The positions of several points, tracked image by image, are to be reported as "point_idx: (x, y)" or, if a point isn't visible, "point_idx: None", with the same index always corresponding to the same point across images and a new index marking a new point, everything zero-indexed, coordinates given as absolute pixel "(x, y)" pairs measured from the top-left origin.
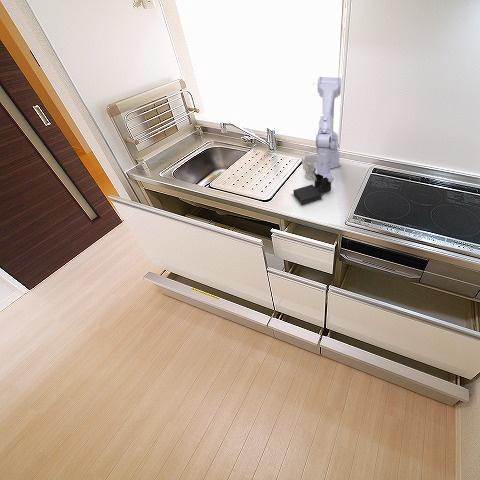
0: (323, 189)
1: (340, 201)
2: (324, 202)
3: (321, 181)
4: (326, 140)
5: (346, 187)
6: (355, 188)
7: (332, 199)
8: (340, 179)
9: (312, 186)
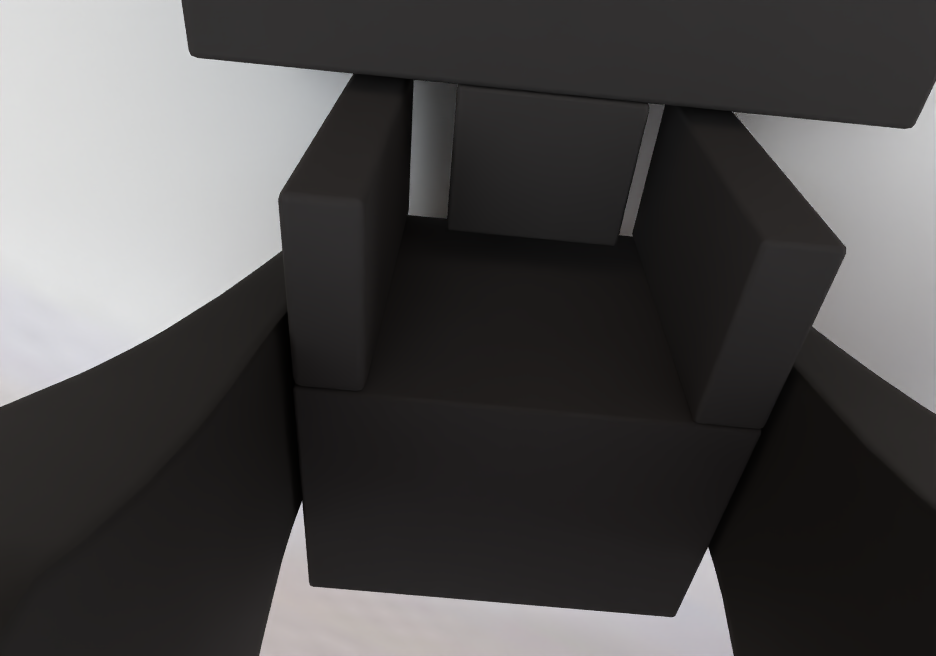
0: None
1: (36, 338)
2: (90, 5)
3: (583, 436)
4: None
5: (402, 598)
6: (313, 653)
7: (156, 250)
8: (645, 641)
9: (807, 54)
